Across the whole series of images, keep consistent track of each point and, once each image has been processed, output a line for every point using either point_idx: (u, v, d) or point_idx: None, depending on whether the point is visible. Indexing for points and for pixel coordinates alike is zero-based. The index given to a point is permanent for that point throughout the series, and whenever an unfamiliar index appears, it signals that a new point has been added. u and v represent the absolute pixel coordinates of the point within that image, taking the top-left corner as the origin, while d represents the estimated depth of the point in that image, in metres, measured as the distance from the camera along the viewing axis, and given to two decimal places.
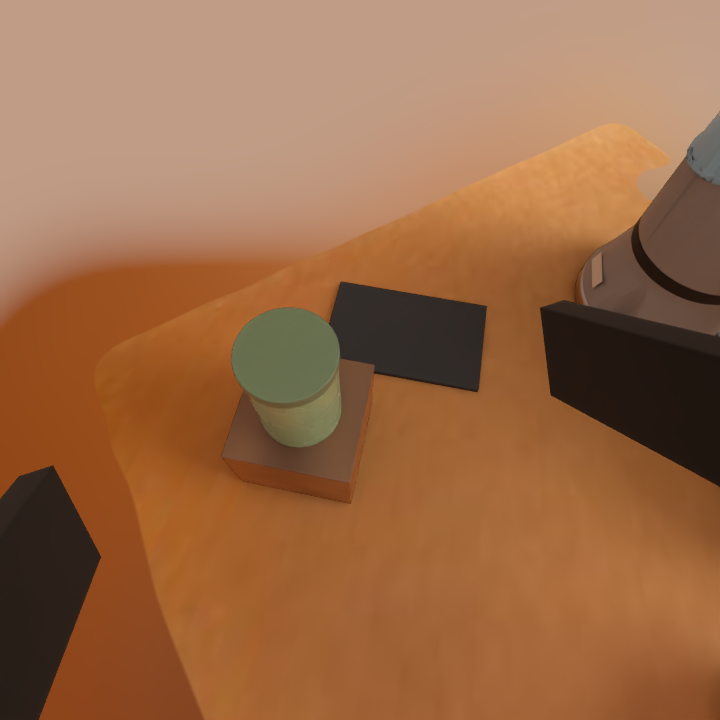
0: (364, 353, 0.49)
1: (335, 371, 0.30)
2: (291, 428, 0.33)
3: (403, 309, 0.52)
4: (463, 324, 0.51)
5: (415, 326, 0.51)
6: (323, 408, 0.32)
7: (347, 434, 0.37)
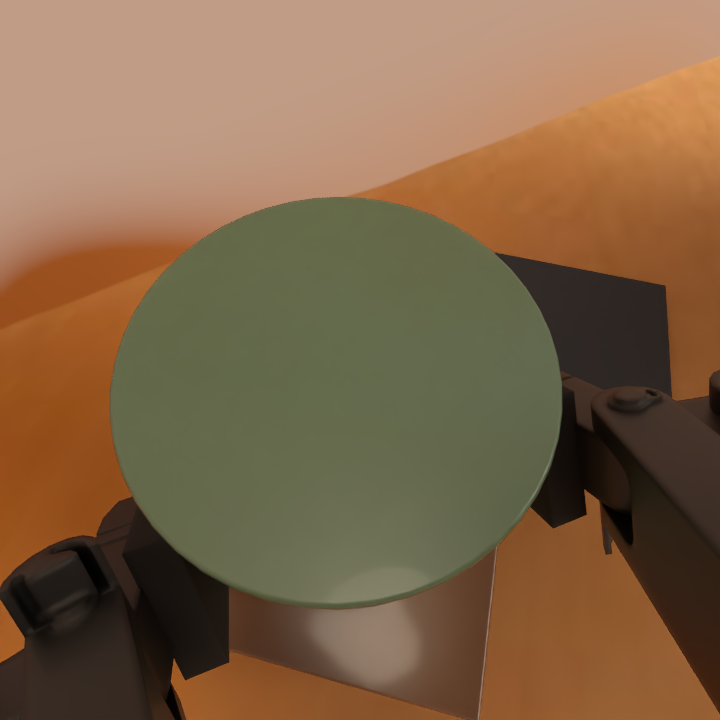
0: None
1: (552, 448, 0.07)
2: None
3: None
4: (628, 316, 0.28)
5: None
6: None
7: None
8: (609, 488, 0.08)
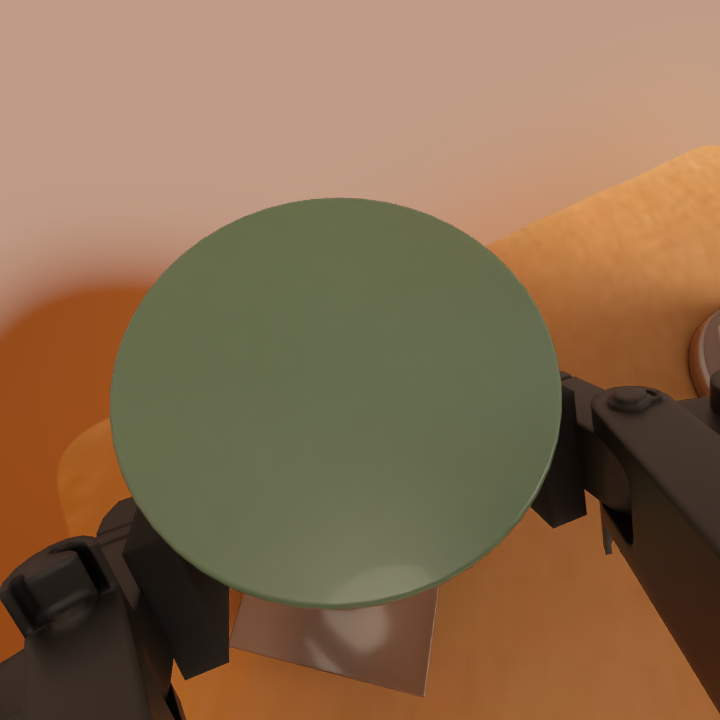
0: None
1: (551, 449, 0.07)
2: None
3: None
4: None
5: None
6: None
7: (416, 610, 0.25)
8: (609, 488, 0.08)
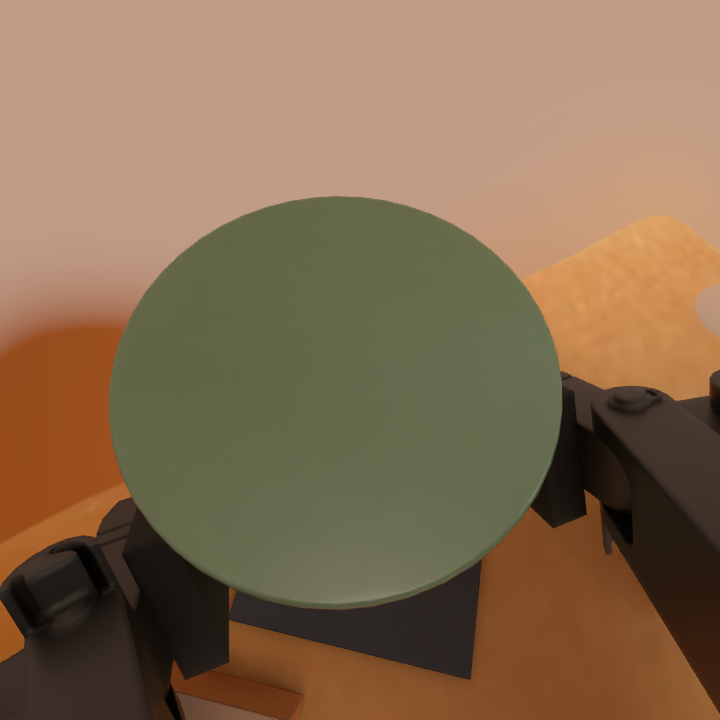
0: None
1: (552, 448, 0.07)
2: None
3: None
4: None
5: None
6: None
7: None
8: (609, 488, 0.08)
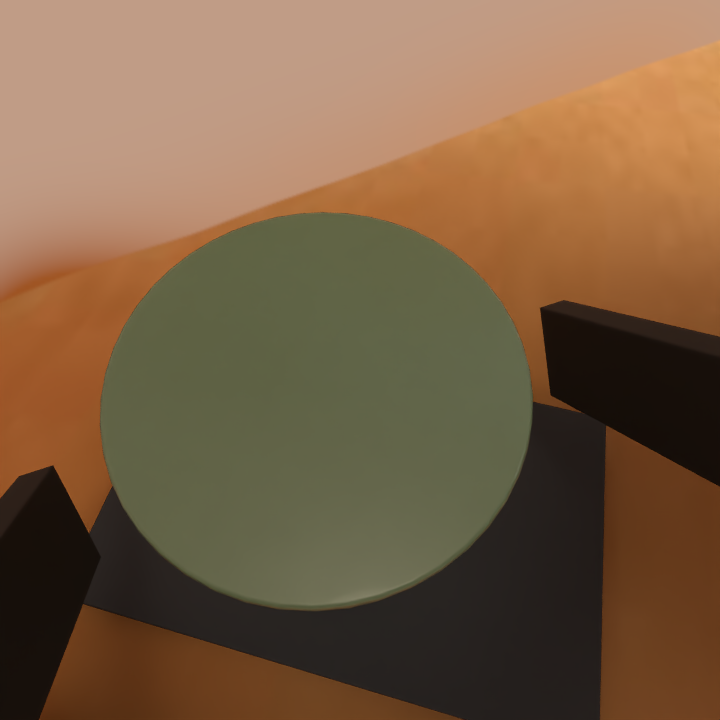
0: None
1: None
2: None
3: None
4: (538, 478, 0.16)
5: None
6: None
7: None
8: None
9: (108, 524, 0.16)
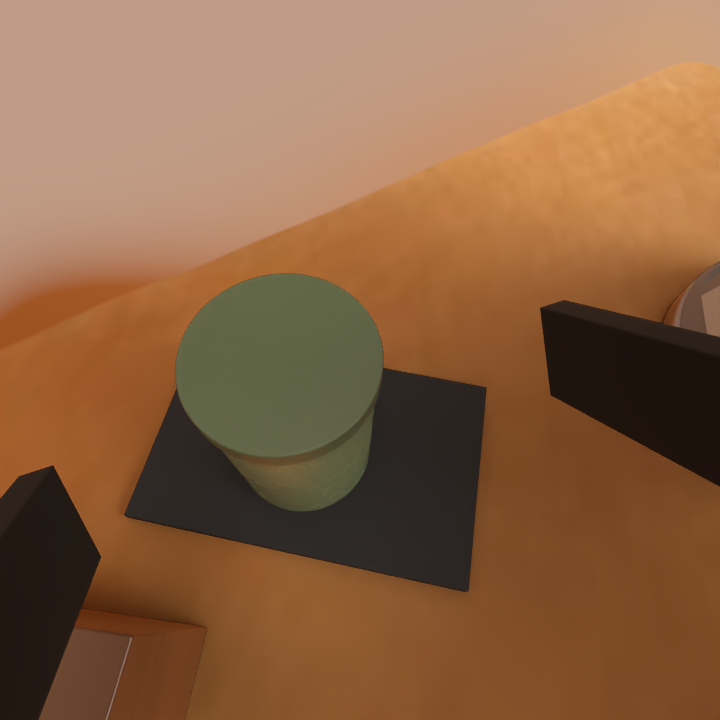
0: (224, 495, 0.23)
1: (376, 392, 0.15)
2: (290, 490, 0.19)
3: None
4: (438, 428, 0.25)
5: None
6: (348, 456, 0.18)
7: None
8: None
9: (152, 470, 0.23)
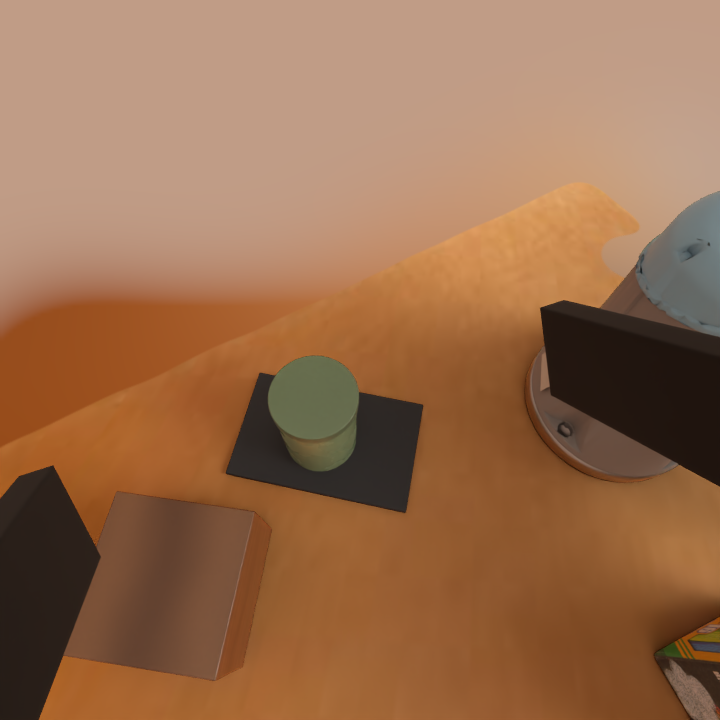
0: (278, 463, 0.43)
1: (355, 412, 0.35)
2: (315, 457, 0.39)
3: None
4: (394, 427, 0.44)
5: None
6: (343, 440, 0.38)
7: (216, 611, 0.31)
8: None
9: (239, 449, 0.43)
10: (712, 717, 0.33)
